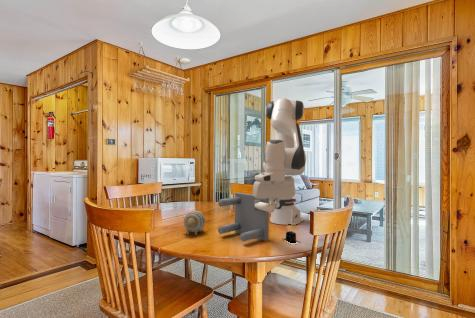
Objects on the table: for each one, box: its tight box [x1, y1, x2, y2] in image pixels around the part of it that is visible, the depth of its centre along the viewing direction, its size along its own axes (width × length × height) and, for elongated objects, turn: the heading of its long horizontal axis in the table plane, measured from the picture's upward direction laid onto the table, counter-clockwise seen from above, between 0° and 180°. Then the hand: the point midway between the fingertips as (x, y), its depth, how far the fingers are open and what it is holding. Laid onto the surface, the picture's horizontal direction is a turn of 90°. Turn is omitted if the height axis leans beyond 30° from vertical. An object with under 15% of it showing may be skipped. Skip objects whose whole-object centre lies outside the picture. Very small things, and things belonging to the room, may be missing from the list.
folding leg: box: [254, 200, 275, 214], centre depth 122 cm, size 11×4×4 cm, turn 38°
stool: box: [217, 192, 270, 242], centre depth 129 cm, size 14×20×20 cm
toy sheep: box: [183, 210, 206, 236], centre depth 137 cm, size 11×17×11 cm, turn 175°
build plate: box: [283, 230, 297, 243], centre depth 125 cm, size 12×7×5 cm, turn 21°
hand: (274, 207), depth 120 cm, fingers closed
